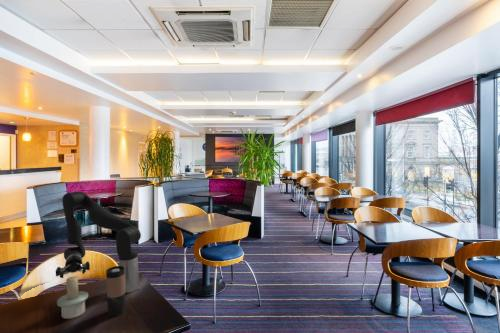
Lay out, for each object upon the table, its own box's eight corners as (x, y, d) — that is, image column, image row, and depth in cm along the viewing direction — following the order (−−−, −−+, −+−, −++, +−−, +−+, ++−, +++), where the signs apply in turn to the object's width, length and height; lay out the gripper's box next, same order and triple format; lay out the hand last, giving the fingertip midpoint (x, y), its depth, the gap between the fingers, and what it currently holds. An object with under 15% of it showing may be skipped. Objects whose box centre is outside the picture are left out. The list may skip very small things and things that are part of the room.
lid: (88, 290, 133) (87, 270, 133) (88, 302, 123) (87, 280, 123) (58, 297, 127) (57, 276, 127) (55, 310, 117) (54, 287, 116)
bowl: (85, 305, 132) (84, 292, 131) (85, 314, 124) (84, 301, 124) (62, 310, 127) (61, 298, 127) (61, 320, 119) (60, 307, 119)
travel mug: (129, 307, 129) (127, 266, 128) (120, 317, 122) (118, 273, 121) (114, 306, 130) (112, 265, 129) (103, 316, 122) (102, 272, 121)
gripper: (57, 258, 141) (54, 269, 128) (89, 253, 149) (89, 263, 135) (57, 272, 142) (55, 285, 128) (89, 266, 149) (90, 278, 135)
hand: (72, 274), depth 132 cm, fingers open, 8 cm apart
